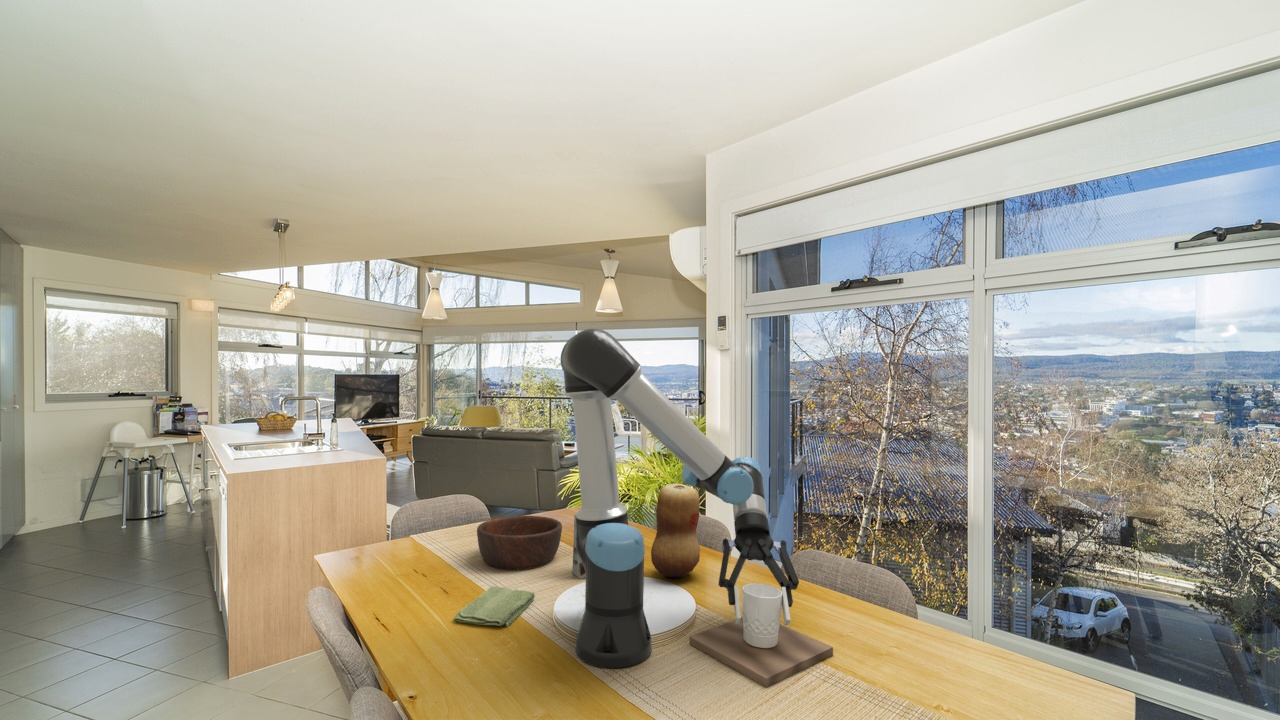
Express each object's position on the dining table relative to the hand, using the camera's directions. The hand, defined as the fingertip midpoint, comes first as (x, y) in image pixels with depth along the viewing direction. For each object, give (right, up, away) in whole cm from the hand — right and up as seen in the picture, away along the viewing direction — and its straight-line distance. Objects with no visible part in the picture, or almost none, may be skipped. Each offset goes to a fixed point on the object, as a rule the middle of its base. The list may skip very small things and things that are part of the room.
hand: (762, 621), depth 108 cm
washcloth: (-57, -8, +20) cm, 61 cm away
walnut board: (0, -7, +3) cm, 8 cm away
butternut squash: (-14, -9, +45) cm, 48 cm away
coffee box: (-38, -9, +46) cm, 60 cm away
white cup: (0, -6, +3) cm, 6 cm away
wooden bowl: (-60, -9, +57) cm, 84 cm away
